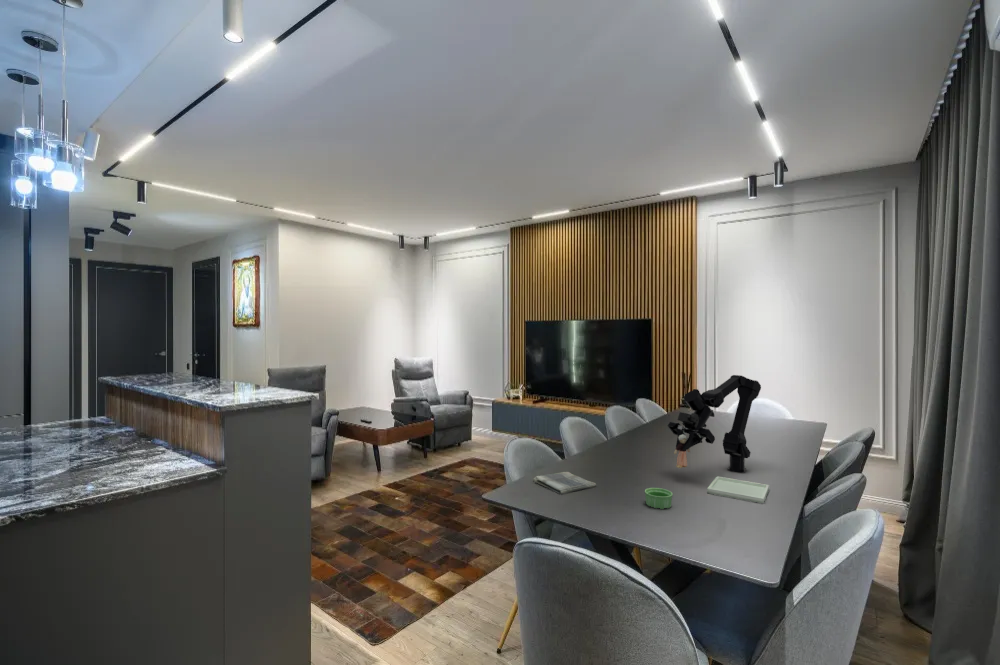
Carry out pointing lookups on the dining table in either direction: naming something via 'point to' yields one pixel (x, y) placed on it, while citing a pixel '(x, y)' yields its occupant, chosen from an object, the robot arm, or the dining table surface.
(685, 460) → the grandmother figurine
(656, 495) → the ramekin
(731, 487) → the sage tray
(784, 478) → the dining table surface
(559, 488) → the dish towel
